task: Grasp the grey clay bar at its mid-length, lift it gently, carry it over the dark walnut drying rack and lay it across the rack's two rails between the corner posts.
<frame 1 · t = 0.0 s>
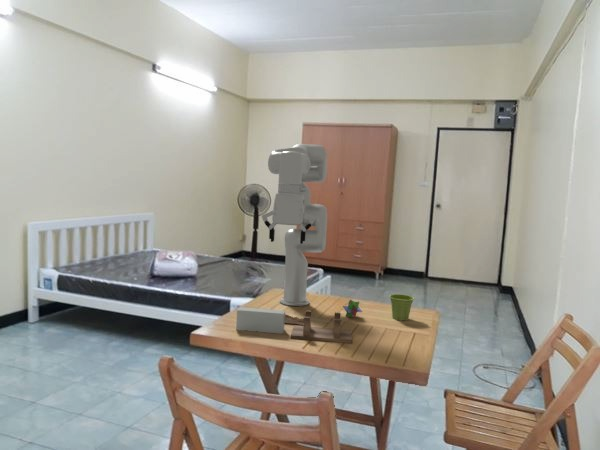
hand: (287, 242, 156), 31 cm above the table, tool pointing down, fingers open, 9 cm apart
plant pot: (400, 319, 187), on the table
wooden fragment: (280, 320, 178), on the table
clay bar: (260, 330, 163), on the table
geometric puzzle: (351, 317, 185), on the table
drying rack: (321, 335, 160), on the table
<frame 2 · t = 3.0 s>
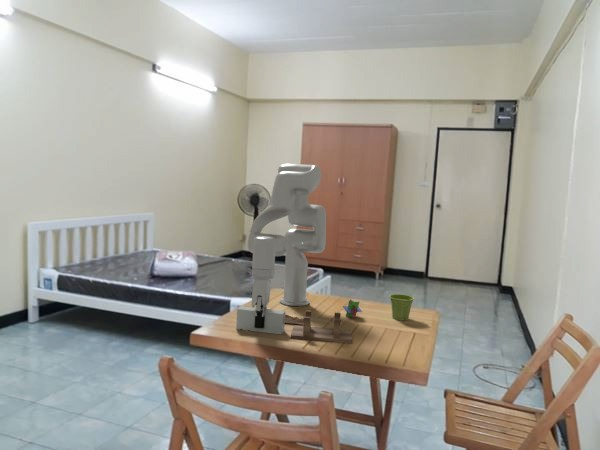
hand: (260, 325, 163), 2 cm above the table, tool pointing down, fingers closed on clay bar, 4 cm apart
clay bar: (260, 330, 163), on the table, touching gripper
everything else where it was.
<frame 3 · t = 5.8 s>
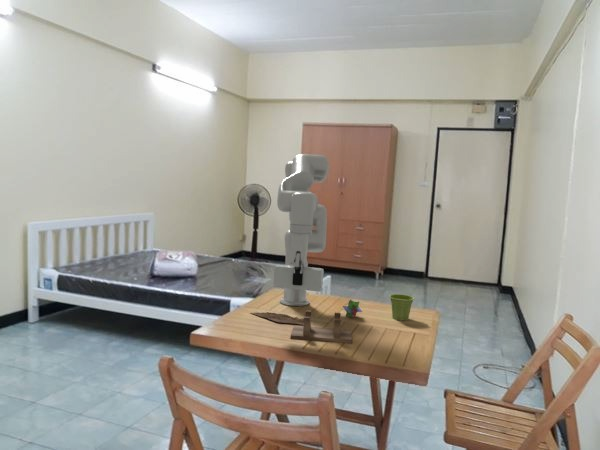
hand: (298, 283, 160), 17 cm above the table, tool pointing down, fingers closed on clay bar, 4 cm apart
clay bar: (297, 288, 160), point 16 cm above the table, touching gripper
everything else where it was.
when the fingers open (8 cm above the table, at t = 8.4 s): clay bar drops 1 cm, resting on drying rack.
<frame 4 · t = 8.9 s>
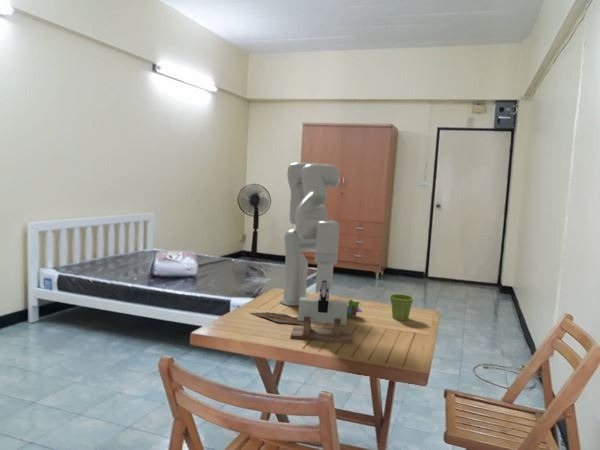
hand: (323, 308, 160), 9 cm above the table, tool pointing down, fingers open, 9 cm apart
clay bar: (322, 320, 160), point 5 cm above the table, touching drying rack
everything else where it was.
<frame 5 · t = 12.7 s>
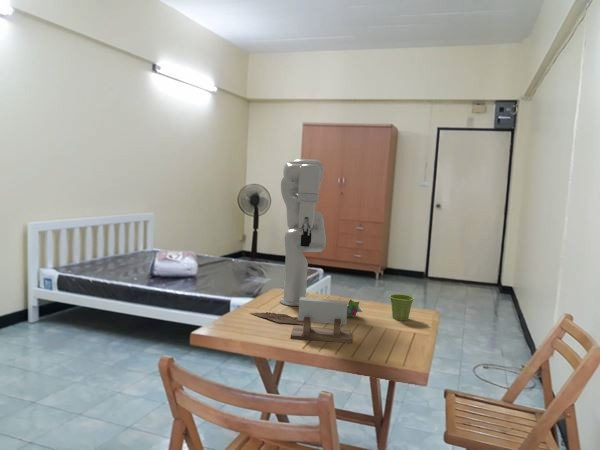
hand: (305, 244, 176), 28 cm above the table, tool pointing down, fingers open, 9 cm apart
nothing on the table moved.
at the end: clay bar 0.1 cm off-centre on the drying rack, point 5.0 cm above the drying rack's base; clay bar tilted 0°; the gripper is holding nothing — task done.
